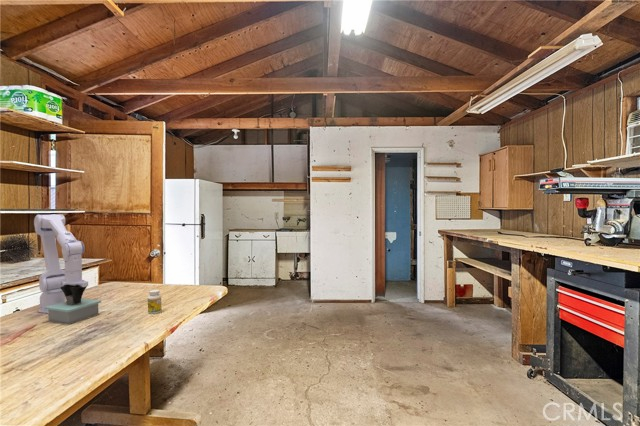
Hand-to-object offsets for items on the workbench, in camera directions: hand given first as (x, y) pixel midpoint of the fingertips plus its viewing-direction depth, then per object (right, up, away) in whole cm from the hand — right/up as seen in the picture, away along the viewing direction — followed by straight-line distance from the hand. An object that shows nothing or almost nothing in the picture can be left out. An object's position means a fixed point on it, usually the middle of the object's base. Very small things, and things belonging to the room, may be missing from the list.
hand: (73, 302), depth 132 cm
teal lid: (0, -1, 0) cm, 1 cm away
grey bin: (0, -7, 0) cm, 7 cm away
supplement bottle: (+31, -7, +7) cm, 32 cm away
